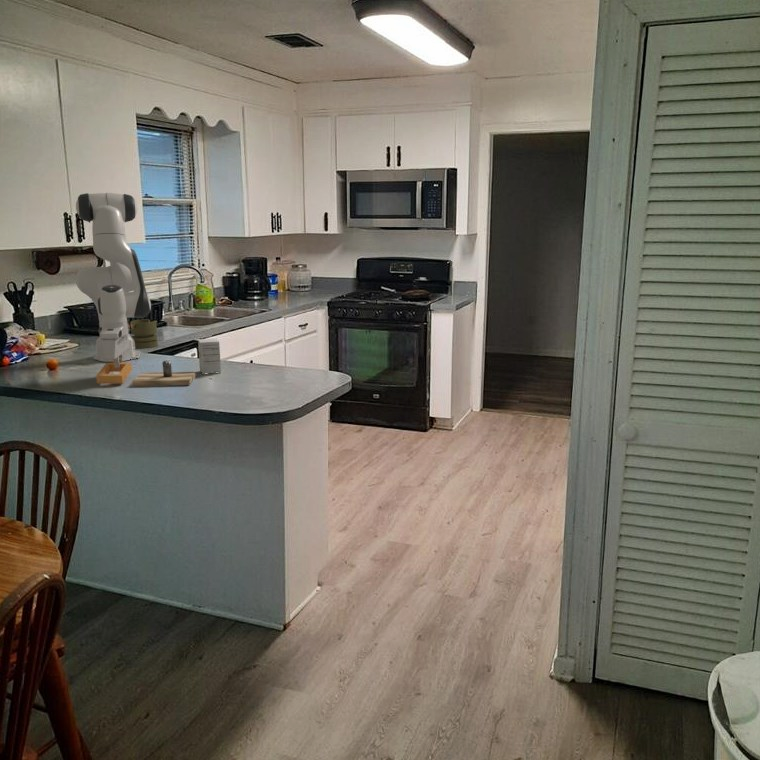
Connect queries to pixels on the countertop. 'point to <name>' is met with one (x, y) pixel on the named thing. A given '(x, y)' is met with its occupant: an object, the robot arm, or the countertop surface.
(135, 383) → the wooden board
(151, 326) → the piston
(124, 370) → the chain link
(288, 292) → the countertop surface
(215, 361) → the supplement box
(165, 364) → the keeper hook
